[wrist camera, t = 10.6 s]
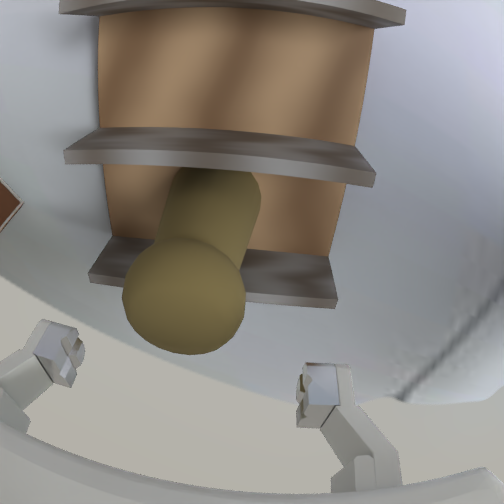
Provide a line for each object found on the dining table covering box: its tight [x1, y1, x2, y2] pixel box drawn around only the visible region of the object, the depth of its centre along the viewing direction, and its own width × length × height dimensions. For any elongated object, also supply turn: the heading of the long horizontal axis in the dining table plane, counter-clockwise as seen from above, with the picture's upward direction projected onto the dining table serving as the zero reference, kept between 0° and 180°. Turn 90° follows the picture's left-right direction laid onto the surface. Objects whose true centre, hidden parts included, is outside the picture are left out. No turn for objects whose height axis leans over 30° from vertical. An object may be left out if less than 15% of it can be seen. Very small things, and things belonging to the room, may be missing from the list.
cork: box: [122, 167, 261, 355], centre depth 16 cm, size 6×6×11 cm
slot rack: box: [59, 0, 406, 309], centre depth 17 cm, size 16×17×6 cm
